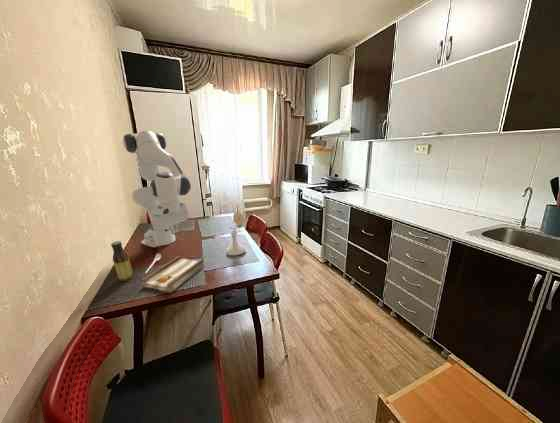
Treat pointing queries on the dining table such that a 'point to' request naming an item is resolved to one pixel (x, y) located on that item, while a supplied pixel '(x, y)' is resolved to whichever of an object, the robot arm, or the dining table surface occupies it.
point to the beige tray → (172, 274)
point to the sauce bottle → (121, 262)
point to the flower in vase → (235, 247)
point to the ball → (163, 279)
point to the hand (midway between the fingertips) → (174, 233)
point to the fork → (154, 261)
